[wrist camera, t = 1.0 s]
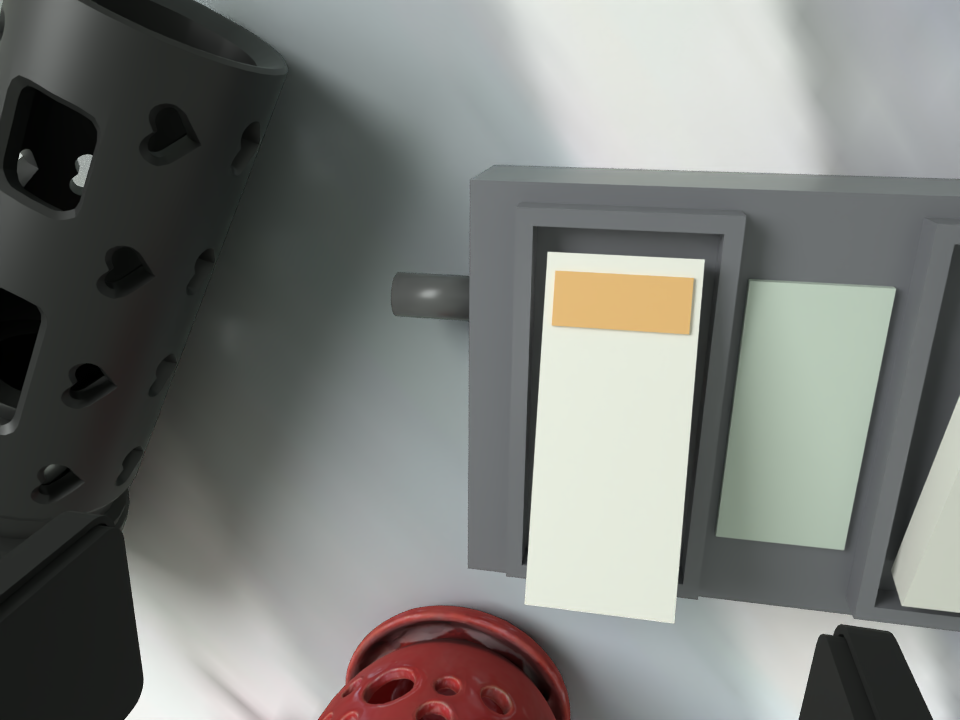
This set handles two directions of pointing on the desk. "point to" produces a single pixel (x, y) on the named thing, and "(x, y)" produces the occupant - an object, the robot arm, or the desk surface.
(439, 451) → the desk surface
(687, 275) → the plate
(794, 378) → the panel
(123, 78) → the muzzle brake
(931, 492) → the rocker
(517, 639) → the plant pot
